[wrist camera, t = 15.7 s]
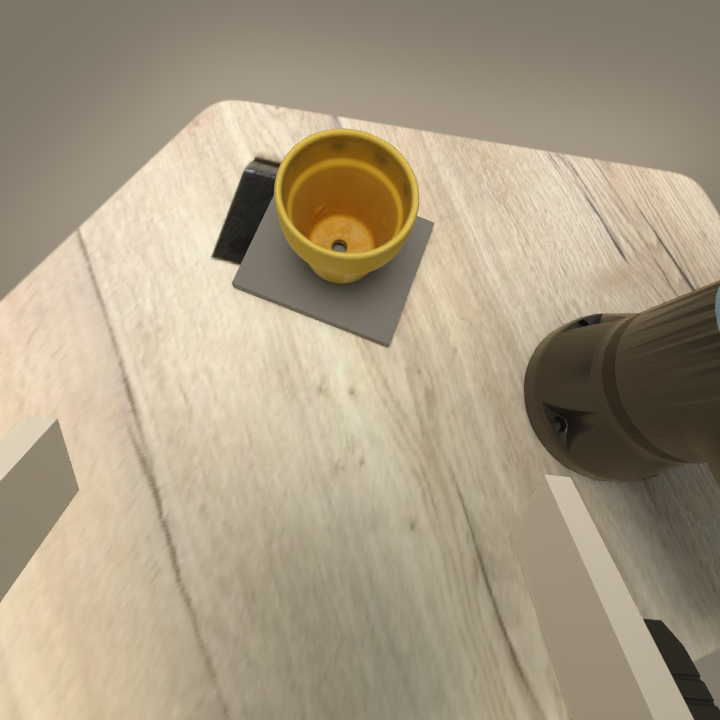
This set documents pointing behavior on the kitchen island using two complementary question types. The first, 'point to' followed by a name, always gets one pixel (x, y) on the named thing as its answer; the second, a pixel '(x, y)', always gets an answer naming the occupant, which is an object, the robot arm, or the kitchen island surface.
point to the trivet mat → (326, 299)
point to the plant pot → (345, 202)
